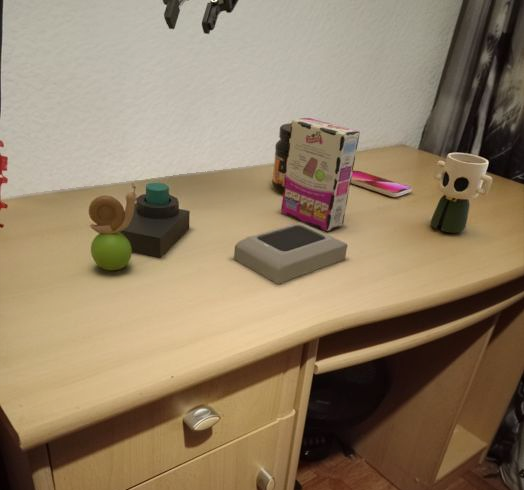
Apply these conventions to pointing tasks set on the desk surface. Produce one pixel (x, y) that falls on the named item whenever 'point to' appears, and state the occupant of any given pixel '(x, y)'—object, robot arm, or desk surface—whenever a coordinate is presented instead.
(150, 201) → the push button
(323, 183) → the candy bar box
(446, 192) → the character mug
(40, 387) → the desk surface
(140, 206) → the black button base
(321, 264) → the grey bevelled block
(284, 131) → the supplement container
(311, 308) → the desk surface
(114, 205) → the snail figurine
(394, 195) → the smartphone
